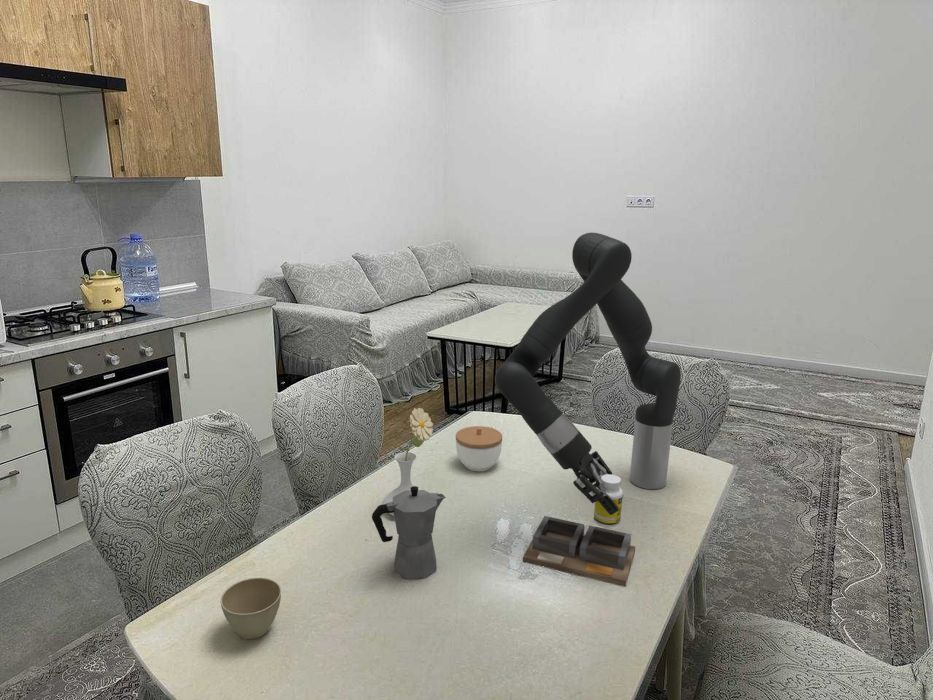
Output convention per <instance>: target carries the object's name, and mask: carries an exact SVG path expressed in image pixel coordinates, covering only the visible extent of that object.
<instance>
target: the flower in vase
mask: <svg viewBox="0 0 933 700" xmlns="http://www.w3.org/2000/svg"><path fill="white" fill-rule="evenodd" d="M409 423H410V428H411V433H412V434H411V437H410V441H409V444H408V447H402V446H401V445H400V446H398V450H403V451H404V452H400V453H396V454H395V455H394V460H395V461H396V462H397V463H398V465H399V471H400V484H399V486H397V487H395V488H394V489H393V490H391V491H390V492H389V493H387V495H385V496H384V498H383V500H382V503H381V505H383V504H386V503H389V502H393V496H395V495H397V494H400V493H402V492H404V491H406V490H411V487H412V486H414V485H413V484H412V481H411V480H412V479H411V471H412V467H413V466H412V465H413V463H414V461H415V460H416V458H417V455H416V454H415V453H413V452H409V451H410V449H411V445H413V446H414V447H416V448H419V447H421V446H422V445H423V444H424V441H430V439H431V438H430V436H433V432H434V429H433V428H432V427H434V423H433V422H432V419H431V417H430V416H429V413H428V412H425V411H424V409H423V408H422V407H421V408H420V407H418V408H415V407H414V409H413V410H412V411H411V414H410V416H409ZM418 490H420V489H419V488H418ZM387 514H389V515H390V516H393V517H394V513H387Z"/></svg>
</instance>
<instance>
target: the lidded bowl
mask: <svg viewBox="0 0 933 700" xmlns="http://www.w3.org/2000/svg"><path fill="white" fill-rule="evenodd" d="M502 444H503V434H502V433H501V432H500V431H499V430H497V429H496V428H493V427H489V426H483V425H480V426H479V425H475V426H474V425H473V426H467V427H463V428H461V429H459V430H458V431H457V432H456V433H455V446H456V447H455V448H456V452H457V453H456V454H457V456H458V459H459V461H460V462H461V463H462V465H464V466H465V468H466V469H467V470H469V471H472V472H485V471H489V470H490V469H491V468H492V467H493V466H494V465H495V464H496V463H497V462H498V460H499V458H500V456H501V452H502Z"/></svg>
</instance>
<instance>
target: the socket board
mask: <svg viewBox="0 0 933 700" xmlns="http://www.w3.org/2000/svg"><path fill="white" fill-rule="evenodd" d="M585 526H586V525H585V524H584V523H580V522H575V521H571V520H566V519H561V518H556V517H552V516H548V515H547V516H546V515H544V516H543V518H542V519H541V522H540V523H539V525H538V526H537V528H536V530H535V531H534V534H533V535H532V540H531V542H530V543H529V545H528V546H527V549H526V550H525V552H524V554H523V556H522V562H523V563H526V562H527V564H530V563H531V565H534V564H535V566H539V565H540V566H539V567H543V566H544V568H547V569H551V570H556V571H559V572H560V571H561V572H563V573H568V574H573V575H577V576H580V577H584V578H588V579H589V578H590V579H593V580H596V581H602V582H605V583H610V584H612V585H613V584H614V585H618V586H622V587H627V586H626V585H627V581H628V578H629V574H630V571H631V567H632V563H633V560H634V556H635V553H636V546H634V545H631V542H632V534H631V533H628V532H627V533H626V532H621V531H617V530H613V529H608V528H605V527H604V528H603V527H601V526H600V527H598V526H594V525H590V524H589V525H588V526H587V530H586V531H585Z"/></svg>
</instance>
